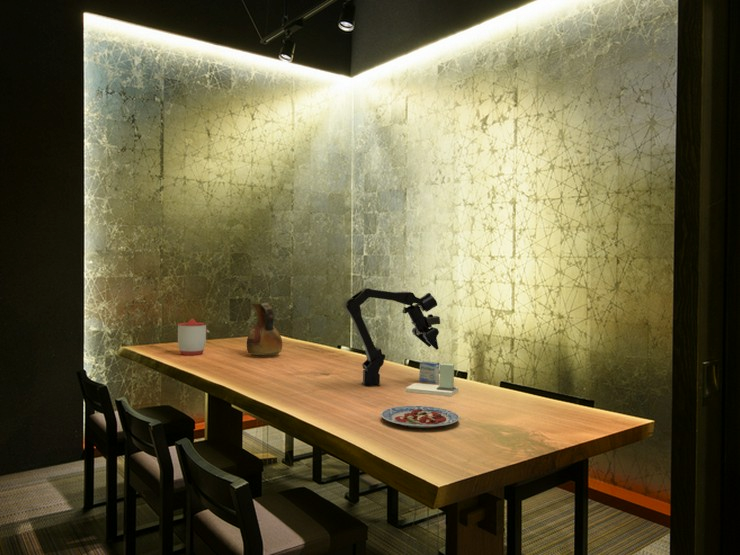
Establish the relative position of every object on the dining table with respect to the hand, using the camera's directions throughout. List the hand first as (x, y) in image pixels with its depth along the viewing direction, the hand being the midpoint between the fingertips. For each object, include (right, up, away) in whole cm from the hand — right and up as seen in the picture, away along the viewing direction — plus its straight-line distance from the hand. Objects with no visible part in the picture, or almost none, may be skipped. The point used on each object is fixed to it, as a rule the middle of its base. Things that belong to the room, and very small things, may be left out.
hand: (433, 347), depth 255 cm
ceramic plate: (-12, -17, -64) cm, 67 cm away
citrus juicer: (-127, -12, +68) cm, 145 cm away
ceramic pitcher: (-87, -13, +67) cm, 111 cm away
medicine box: (-2, -16, +3) cm, 16 cm away
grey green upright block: (+3, -14, -19) cm, 24 cm away
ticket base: (-3, -16, -17) cm, 24 cm away
